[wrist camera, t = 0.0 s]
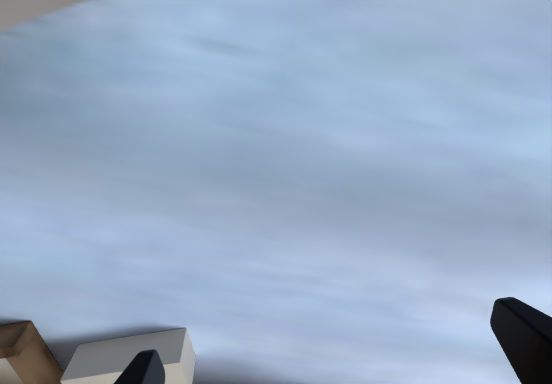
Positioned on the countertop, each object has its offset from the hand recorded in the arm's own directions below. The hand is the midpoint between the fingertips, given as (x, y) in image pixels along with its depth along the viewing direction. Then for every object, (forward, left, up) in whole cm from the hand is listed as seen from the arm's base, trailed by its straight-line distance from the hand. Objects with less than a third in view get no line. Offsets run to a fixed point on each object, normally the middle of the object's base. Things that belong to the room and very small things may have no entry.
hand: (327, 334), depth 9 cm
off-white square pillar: (-16, +14, -15) cm, 26 cm away
